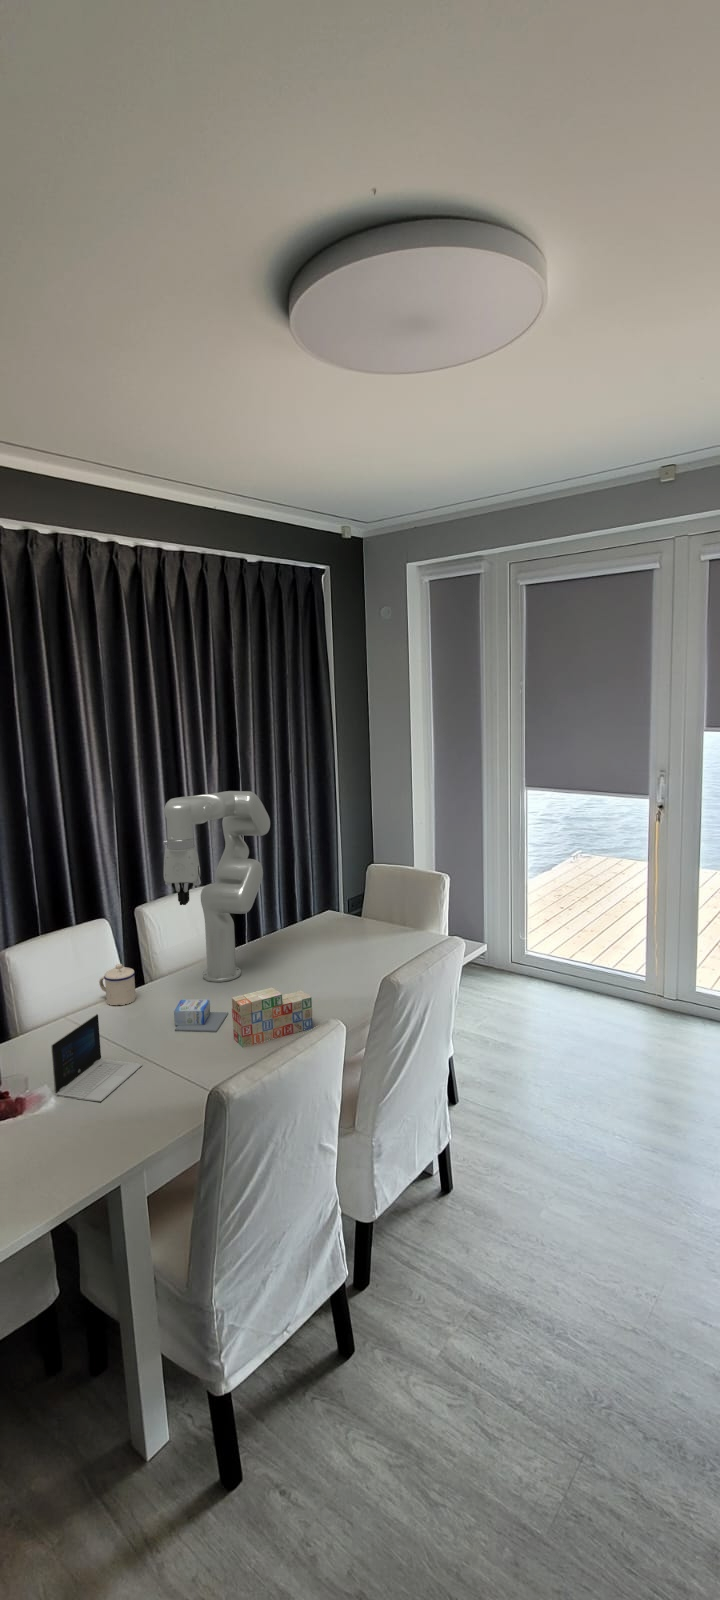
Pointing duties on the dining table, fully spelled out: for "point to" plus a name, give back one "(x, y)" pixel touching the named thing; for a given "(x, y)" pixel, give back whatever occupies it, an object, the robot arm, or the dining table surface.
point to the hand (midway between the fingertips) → (184, 903)
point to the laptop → (86, 1065)
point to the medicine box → (192, 1012)
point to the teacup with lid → (119, 985)
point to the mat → (206, 1023)
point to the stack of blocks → (269, 1015)
